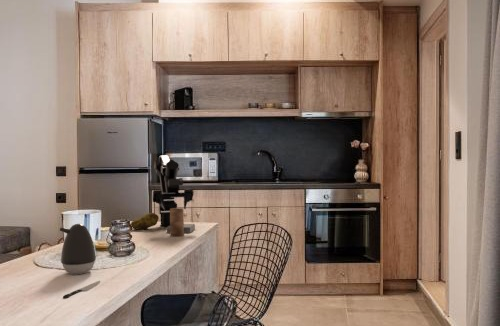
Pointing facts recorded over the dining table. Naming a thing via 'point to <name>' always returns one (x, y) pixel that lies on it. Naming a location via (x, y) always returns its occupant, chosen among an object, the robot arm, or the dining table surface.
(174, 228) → the walnut cylinder
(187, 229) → the slate base
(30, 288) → the dining table surface
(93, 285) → the chef's knife
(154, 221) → the green bumpy oblong piece
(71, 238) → the pump dispenser
